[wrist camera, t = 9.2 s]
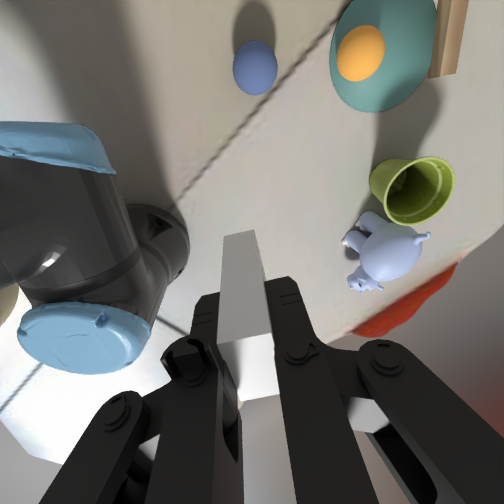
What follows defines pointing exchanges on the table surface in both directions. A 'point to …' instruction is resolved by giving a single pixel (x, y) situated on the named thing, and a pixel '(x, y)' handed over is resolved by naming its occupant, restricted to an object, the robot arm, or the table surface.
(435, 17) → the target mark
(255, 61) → the blue ball
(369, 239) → the hippopotamus toy
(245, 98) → the table surface
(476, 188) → the table surface
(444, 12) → the rail
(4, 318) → the planter bowl
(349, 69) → the orange ball
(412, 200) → the plant pot
